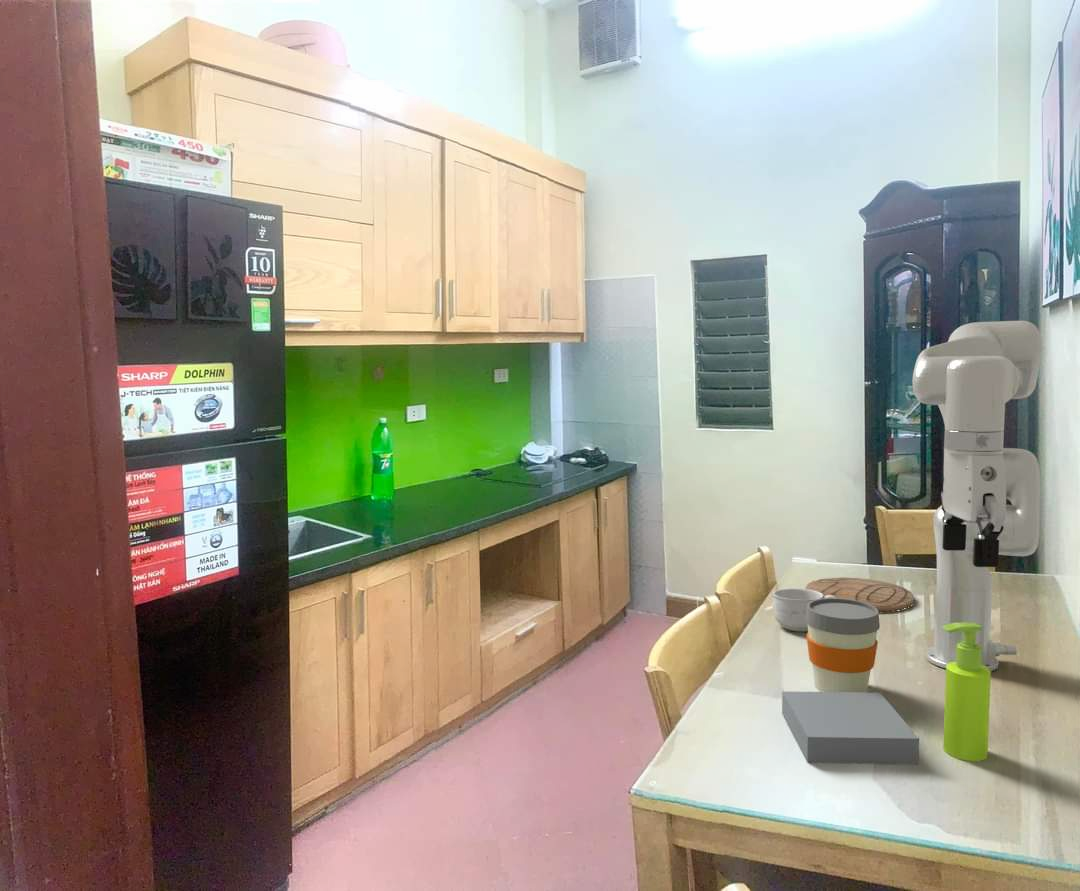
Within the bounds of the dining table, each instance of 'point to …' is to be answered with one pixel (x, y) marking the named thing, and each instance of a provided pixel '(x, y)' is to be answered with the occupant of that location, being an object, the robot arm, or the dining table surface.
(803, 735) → the stand
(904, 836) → the dining table surface
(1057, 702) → the dining table surface
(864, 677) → the reusable coffee cup
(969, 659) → the soap dispenser
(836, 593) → the trivet
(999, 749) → the dining table surface
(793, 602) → the teacup
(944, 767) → the dining table surface
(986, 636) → the robot arm
